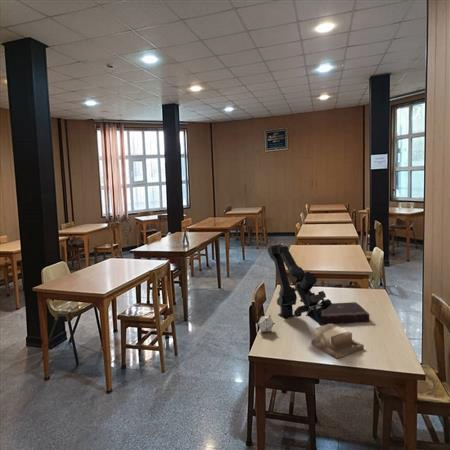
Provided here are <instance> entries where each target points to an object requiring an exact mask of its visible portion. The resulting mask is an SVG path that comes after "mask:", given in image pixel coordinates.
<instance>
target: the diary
mask: <svg viewBox="0 0 450 450" xmlns="http://www.w3.org/2000/svg"><path fill="white" fill-rule="evenodd" d="M319 303H320V302H319ZM319 303H317V304H319ZM331 303H332V304H331V305H330V306H329V307H328V308H327V309H325V310H322V320H323V325H322V326H325V325H328V324H331V323H332V324H334V325H337V324H352V323H354V324H355V323H369V322H370V313H369V312H368V311H367V310H366V309H364V308H363V307H362V306H361V305H360V304H359V303H358V302H356V301H354V302H353V301H351V302H336V303H335V302H334V303H333V302H331ZM318 325H319V326H321V325H320V324H318Z"/></svg>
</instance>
